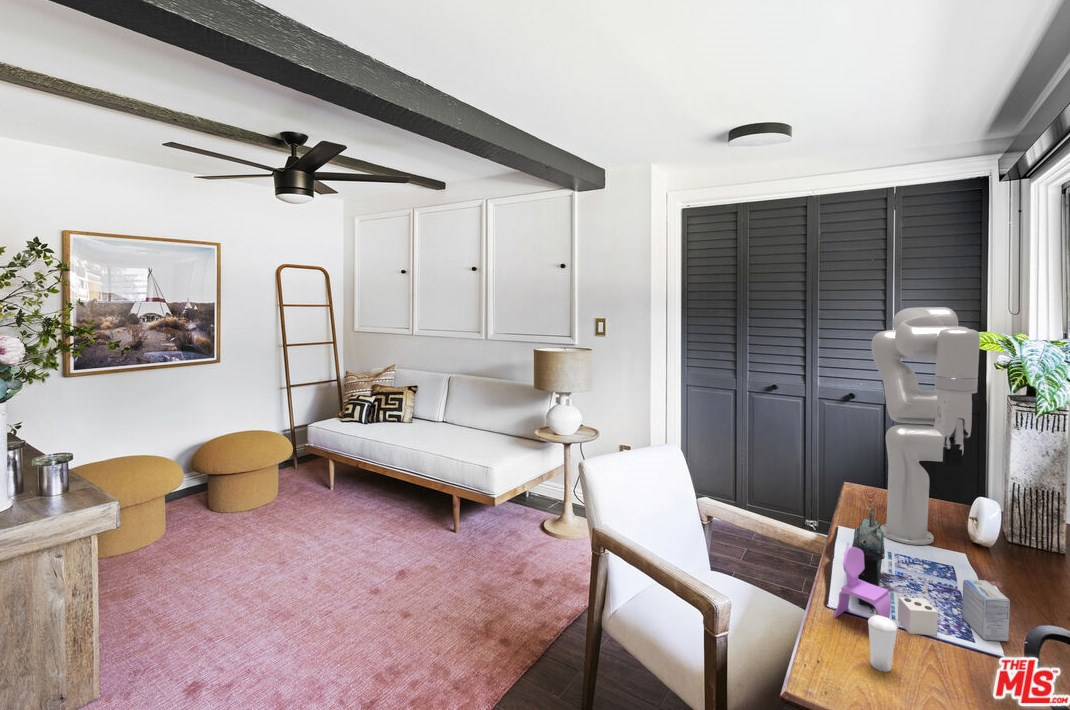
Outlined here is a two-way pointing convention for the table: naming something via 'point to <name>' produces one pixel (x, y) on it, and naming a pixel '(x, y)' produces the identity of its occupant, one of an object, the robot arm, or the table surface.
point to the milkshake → (882, 642)
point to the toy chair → (861, 586)
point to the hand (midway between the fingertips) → (951, 465)
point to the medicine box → (986, 610)
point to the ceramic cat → (870, 551)
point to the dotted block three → (917, 616)
